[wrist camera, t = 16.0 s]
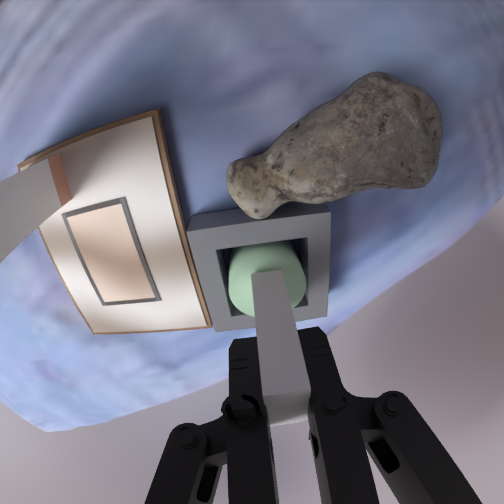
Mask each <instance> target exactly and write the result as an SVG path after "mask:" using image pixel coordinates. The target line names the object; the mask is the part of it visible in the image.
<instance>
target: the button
mask: <svg viewBox="0 0 504 504" xmlns="http://www.w3.org/2000/svg"><path fill="white" fill-rule="evenodd" d="M275 270H282V273H283V277H284V280H285V284H286V288H287V292H288V296H289V300H290V304H291V308H292V309H293V308H294V307H296V306H297V305H298V304H299V302H300V301H301V300H302V298H303V296H304V294H305V291H306V278H305V275H304V272H303V270H302V267H301V264H300V262H299V259H298V256H297V254H296V251H295V249H294V247H293V245H292V244H291V242H290V241H289V240H282V241H275V242H268V243H261V244H253V245H246V246H239V247H234V248H233V250H232V252H231V254H230V258H229V296H230V299H231V301H232V303H233V304H234V306H235V307H236V308H237V309H239V310H240V311H241V312H243V313H245V314H247V315H250V316H253V317H255V313H254V302H253V292H252V282H251V274H253V273H261V272H268V271H275Z"/></svg>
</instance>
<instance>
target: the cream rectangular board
mask: <svg viewBox="0 0 504 504" xmlns="http://www.w3.org/2000/svg"><path fill="white" fill-rule="evenodd" d="M58 153H59V154H60V158H61V162H62V165H63V169H64V173H65V176H66V180H67V183H68V186H69V190H70V193H71V196H72V200H70V201H69V202H68V203H66V204H65V205H64V206H63V207H61V208H60V209H59V210H58V211H56V212H55V213H54V214H53V215H51V216H50V217H49V218H48V219H47V220H45V221H44V222H43V223H42V224H41V225H40V226H39V227H38V230H39V232H40V235H41V237H42V240H43V242H44V244H45V246H46V249H47V251H48V253H49V255H50V257H51V260H52V262H53V264H54V266H55V268H56V270H57V272H58V274H59V276H60V278H61V280H62V282H63V284H64V286H65V287H66V289H67V291H68V293H69V295H70V297H71V298H72V300H73V302H74V304H75V305H76V307H77V309H78V310H79V312H80V314H81V315H82V317H83V319H84V320H85V322H86V323H87V325H88V327H89V328H90V330H91V331H92V333H93V334H127V333H149V332H166V331H180V330H192V329H203V328H212V325H213V322H212V319H211V316H210V313H209V310H208V307H207V303H206V300H205V297H204V293H203V290H202V287H201V283H200V280H199V276H198V273H197V269H196V266H195V262H194V259H193V255H192V251H191V248H190V244H189V240H188V236H187V232H186V231H187V230H186V226H185V222H184V218H183V214H182V210H181V206H180V202H179V197H178V193H177V189H176V185H175V180H174V176H173V171H172V167H171V162H170V157H169V152H168V148H167V143H166V138H165V132H164V127H163V122H162V116H161V111H160V109H155V110H152V111H148V112H145V113H141V114H138V115H134V116H131V117H128V118H125V119H122V120H118V121H116V122H113V123H110V124H107V125H104V126H101V127H98V128H96V129H93V130H91V131H88V132H85V133H83V134H80V135H78V136H76V137H73V138H71V139H69V140H66V141H64V142H62V143H59V144H57V145H55V146H53V147H51V148H49V149H47V150H45V151H43V152H41V153H39V154H37V155H35V156H33V157H31V158H29V159H27V160H25V161H23V162H21V163H20V164H18V165H17V166H18V170H19V172H20V171H22V170H24V169H26V168H28V167H30V166H32V165H34V164H36V163H38V162H40V161H43V160H45V159H47V158H49V157H51V156H54V155H56V154H58Z"/></svg>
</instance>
